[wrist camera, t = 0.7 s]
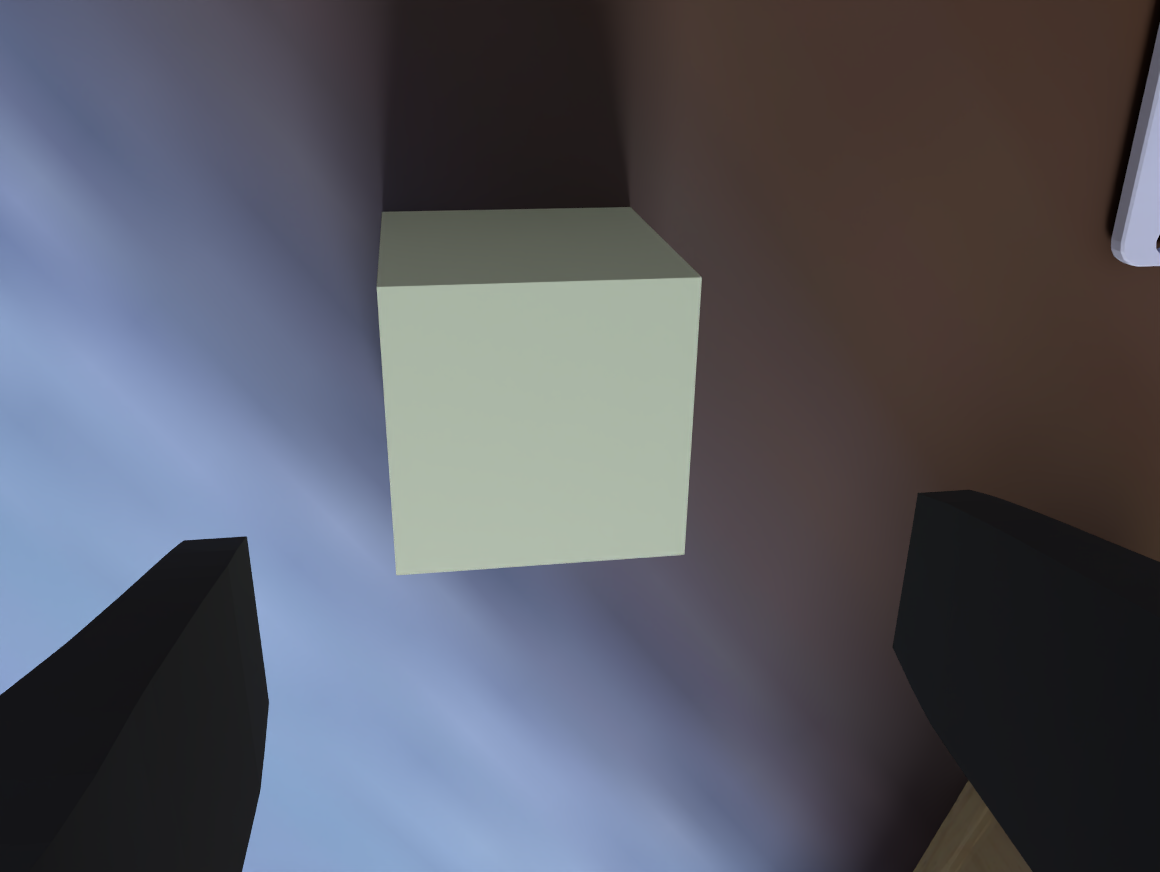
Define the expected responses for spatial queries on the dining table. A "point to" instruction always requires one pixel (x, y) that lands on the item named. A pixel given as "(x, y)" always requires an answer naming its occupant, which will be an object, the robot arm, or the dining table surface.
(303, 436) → the dining table surface
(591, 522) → the sage cube
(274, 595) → the dining table surface
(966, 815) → the toy kitchen set
